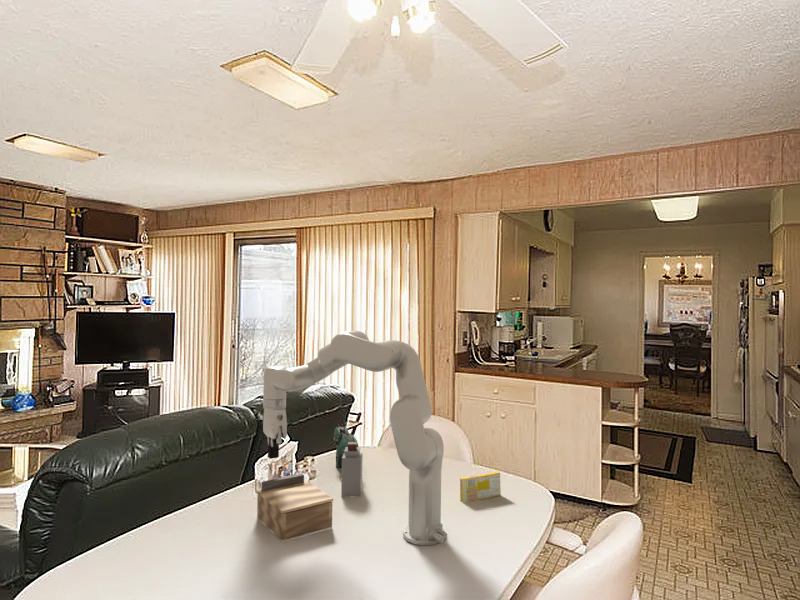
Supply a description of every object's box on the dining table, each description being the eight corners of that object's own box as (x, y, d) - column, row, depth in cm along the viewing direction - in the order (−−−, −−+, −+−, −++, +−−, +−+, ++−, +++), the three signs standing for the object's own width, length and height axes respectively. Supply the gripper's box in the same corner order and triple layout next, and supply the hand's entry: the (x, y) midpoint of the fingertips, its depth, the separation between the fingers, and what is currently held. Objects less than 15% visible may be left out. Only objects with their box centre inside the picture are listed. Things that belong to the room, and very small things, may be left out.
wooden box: (332, 528, 158) (332, 502, 158) (282, 542, 149) (282, 514, 149) (303, 506, 174) (303, 483, 174) (257, 518, 165) (257, 493, 165)
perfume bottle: (360, 496, 184) (360, 445, 184) (341, 496, 184) (341, 445, 184) (362, 489, 191) (362, 440, 191) (343, 489, 191) (344, 440, 191)
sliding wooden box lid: (333, 501, 158) (333, 490, 158) (281, 513, 149) (282, 502, 149) (304, 482, 175) (304, 472, 175) (256, 492, 165) (256, 481, 165)
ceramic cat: (331, 466, 217) (332, 418, 217) (346, 464, 220) (346, 417, 220) (349, 481, 199) (350, 429, 200) (365, 479, 202) (365, 427, 202)
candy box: (497, 493, 188) (497, 471, 188) (500, 496, 187) (501, 472, 187) (459, 501, 181) (459, 477, 181) (462, 503, 179) (463, 479, 179)
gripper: (294, 406, 171) (292, 461, 171) (276, 398, 183) (275, 450, 183) (272, 408, 166) (271, 465, 167) (255, 400, 179) (254, 453, 179)
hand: (273, 457), depth 175 cm, fingers closed
